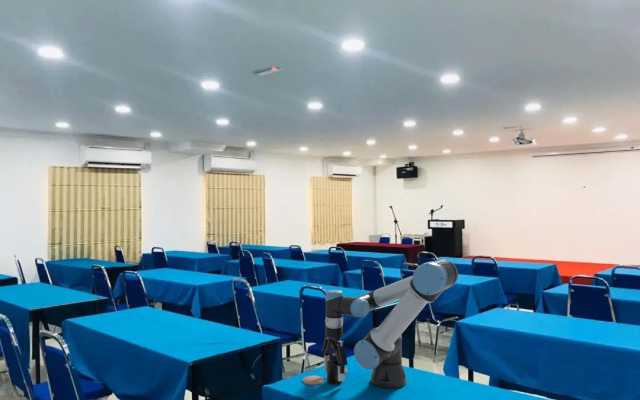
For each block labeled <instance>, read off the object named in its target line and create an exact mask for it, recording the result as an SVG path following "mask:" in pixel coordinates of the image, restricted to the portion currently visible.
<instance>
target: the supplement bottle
mask: <svg viewBox="0 0 640 400" xmlns="http://www.w3.org/2000/svg"><path fill="white" fill-rule="evenodd" d="M329 359H330V360H328V361H327V371H326V383H327V384H329V385H334V386H336V385H340V384H342V383H343V381H338V365H339V363H338V359H337V356H336V353H335V352H330V354H329Z"/></svg>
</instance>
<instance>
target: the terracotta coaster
mask: <svg viewBox="0 0 640 400" xmlns="http://www.w3.org/2000/svg"><path fill="white" fill-rule="evenodd" d="M302 383H303V384H305V385H309V386H316V385H317V386H318V385H320V384H323V383H324V378H323V377H322V376H319V375H308V376H305V377H303V378H302Z"/></svg>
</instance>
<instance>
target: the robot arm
mask: <svg viewBox="0 0 640 400" xmlns="http://www.w3.org/2000/svg"><path fill="white" fill-rule="evenodd" d="M458 276H459V272H458V268H457V267H456V265H455V264H454V262H452V261H450V260H448V259H443V258H441V259H436V260H432V261H426V262H424V263H422V264H420V265H418V267H416V269H415V270H414V271H413V274H412V275H411V276H408V277H406V278H402V279H401V280H398V281H396V282H393V283H390V284H388V285H385V286H382V287H379V288H377V289H375V290H372V291H370V292H367V293H364V294H361V295H357V296H355V297H349V296H346V295H345V296H344V293H343V291H342V290H339V289H330V290H327V291H326V292H325V301H324V303H325V320H324V322H325V328H324V329H325V334H324V340H323V344H322V348H321V353H322V354H323V358H324V359H323V361H324V363H323V366H324V367H323V368H324V369H323V371H324V372H327V361H328V360H330V359H329V354H330V353H332V349H333V351H334V353H336V356H337V359H338V363H339V365H338V381H342V382H343V381H345V380H346V379H345V377H346V376H345V375H346V374H345V368H346V366H348V360H347V359H348V358H347V353H346V349H345V342H344V340H341V337H342V336H343V335H344V327H343V325H344V315H345V316H351V317H355V318H365V317H367V315H368V314H369V312H371V311H374V310H376V309H379V308H382V307H384V306H387V305H390V304H392V303H393V304H394V303H395V302H397V304H396V305H395V306H394V307H393V309H392V310H391V311H390V312H389V313H388V315H387V316H386V317H385V318H384V320H382V322H381V323H380V325H379V326H378V327H374V328H372V329H371V330H370V331H369V332H368V333H367V334H366V335H365V337H364V338H363V339H360V340H359V341H357V342H356V343H355V345H354V347H353V352H354V358H355V360H356V362H357V363H358V365H359V366H360V367H362V368H363V369H365V370H372V372H371V374H370V382H371V384H372V385H374V386H377V387H380V388H385V389H396V388H401V387H403V386H405V385H406V384H407V376H406V372H405V370H404V367H403V358H402V357H403V345H402V344H403V337H402V334H403V333H404V331H405V330H406V329H407V328H408V327H409V326H410V324H411V323H412V322H413V321H414V320H415V319H416V317H418V315H419V314H420V313H421V311H422V310H423V309H424V308H425V306H426V305H427V304H428V303H429V304H431V303H434V302H435V301H436V300H437V299H438V298H439V296H440V295H441V294H442V293H443V292H444V291H445V290H448V289H450V288H452V287H453V286H454V285H455V284H456V283H457V282H458V281H457V280H458V278H459V277H458Z"/></svg>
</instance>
